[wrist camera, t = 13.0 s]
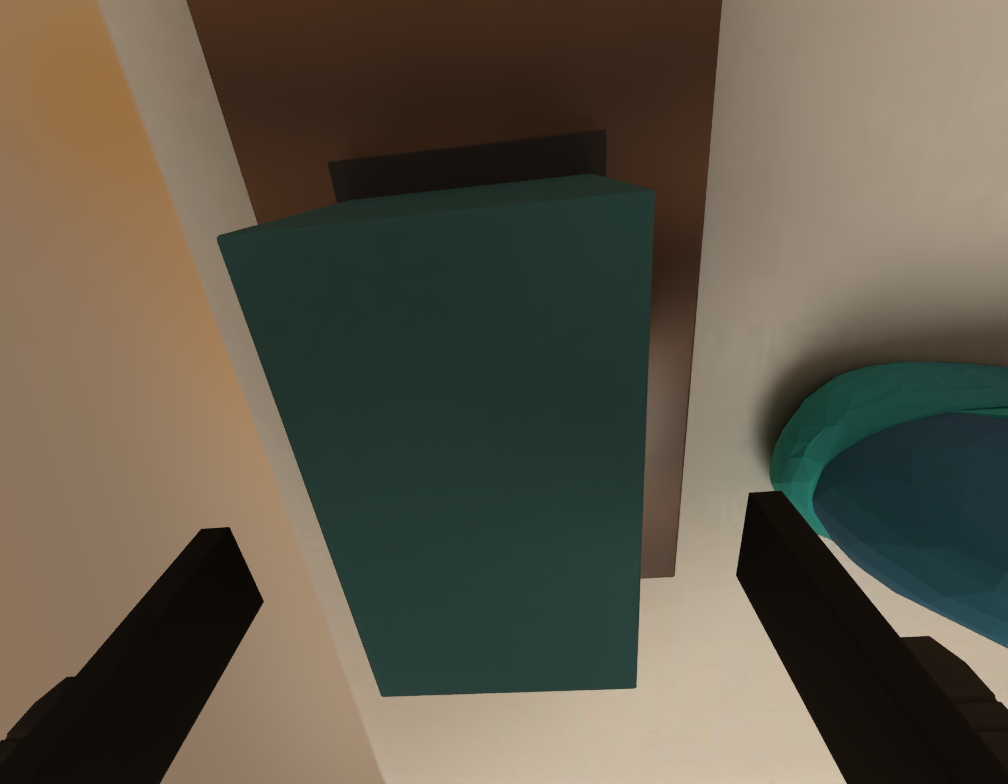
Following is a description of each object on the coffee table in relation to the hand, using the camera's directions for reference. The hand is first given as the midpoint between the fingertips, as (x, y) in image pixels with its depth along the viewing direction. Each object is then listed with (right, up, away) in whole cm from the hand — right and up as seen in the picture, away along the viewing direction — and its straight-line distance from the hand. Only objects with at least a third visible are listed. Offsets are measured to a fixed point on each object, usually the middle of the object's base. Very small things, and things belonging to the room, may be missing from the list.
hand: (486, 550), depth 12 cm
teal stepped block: (0, +3, +6) cm, 7 cm away
